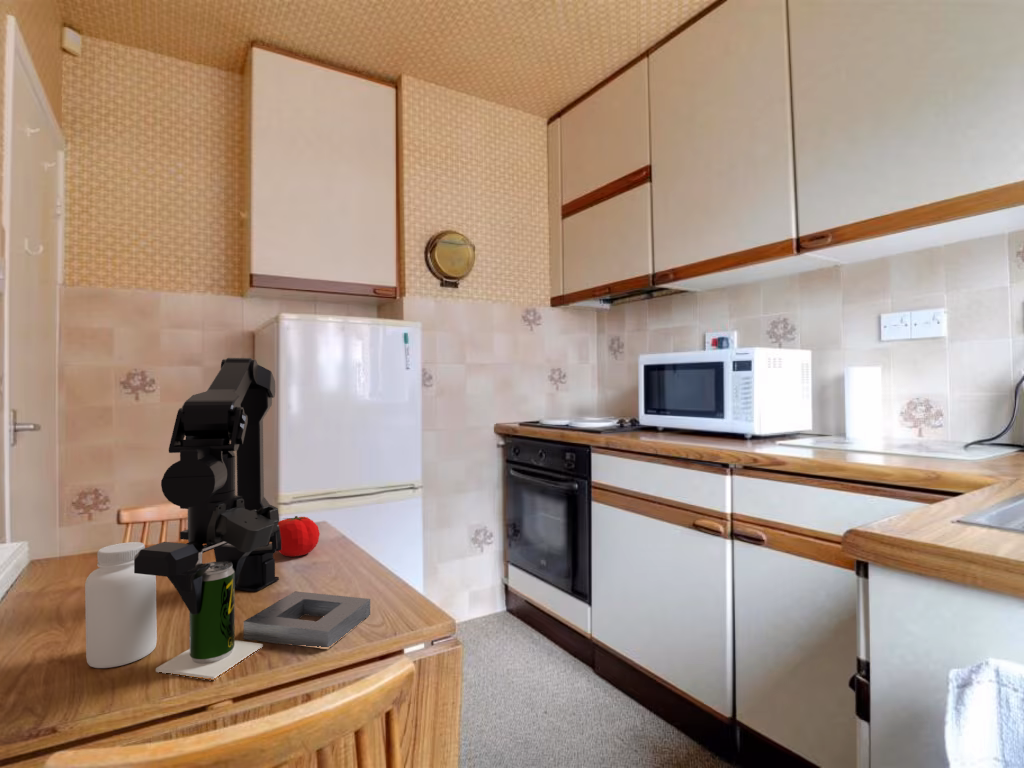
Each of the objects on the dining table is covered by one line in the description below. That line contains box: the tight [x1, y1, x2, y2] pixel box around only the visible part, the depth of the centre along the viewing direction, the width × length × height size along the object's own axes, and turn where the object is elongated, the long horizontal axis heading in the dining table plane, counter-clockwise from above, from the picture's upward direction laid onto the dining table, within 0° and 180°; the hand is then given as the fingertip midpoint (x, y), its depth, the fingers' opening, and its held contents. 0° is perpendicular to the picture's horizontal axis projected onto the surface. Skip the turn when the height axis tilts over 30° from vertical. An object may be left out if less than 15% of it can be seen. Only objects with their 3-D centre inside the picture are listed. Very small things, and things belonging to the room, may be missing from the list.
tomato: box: [278, 515, 321, 558], centre depth 120 cm, size 9×10×8 cm
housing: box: [243, 590, 371, 647], centre depth 83 cm, size 14×12×3 cm
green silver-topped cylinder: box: [189, 560, 236, 664], centre depth 74 cm, size 5×5×12 cm
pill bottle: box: [84, 541, 158, 669], centre depth 75 cm, size 8×8×15 cm
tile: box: [155, 639, 264, 679], centre depth 74 cm, size 9×9×1 cm
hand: (212, 605), depth 74 cm, fingers closed on green silver-topped cylinder, 5 cm apart
